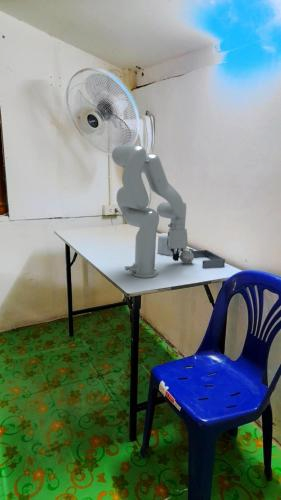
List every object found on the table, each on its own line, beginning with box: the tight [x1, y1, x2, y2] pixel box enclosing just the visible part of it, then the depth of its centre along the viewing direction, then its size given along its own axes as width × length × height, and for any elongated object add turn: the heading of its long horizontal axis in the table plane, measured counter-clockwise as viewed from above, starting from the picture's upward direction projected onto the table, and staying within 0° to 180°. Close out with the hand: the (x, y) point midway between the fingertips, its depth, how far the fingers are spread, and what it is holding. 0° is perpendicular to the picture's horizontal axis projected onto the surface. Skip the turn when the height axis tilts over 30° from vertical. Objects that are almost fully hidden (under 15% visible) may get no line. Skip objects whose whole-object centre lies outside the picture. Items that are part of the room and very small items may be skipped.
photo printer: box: [157, 232, 173, 257], centre depth 188 cm, size 10×4×12 cm, turn 60°
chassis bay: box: [191, 249, 226, 270], centre depth 177 cm, size 14×19×4 cm
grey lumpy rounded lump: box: [179, 248, 196, 265], centre depth 173 cm, size 9×8×10 cm
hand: (175, 260), depth 171 cm, fingers closed
